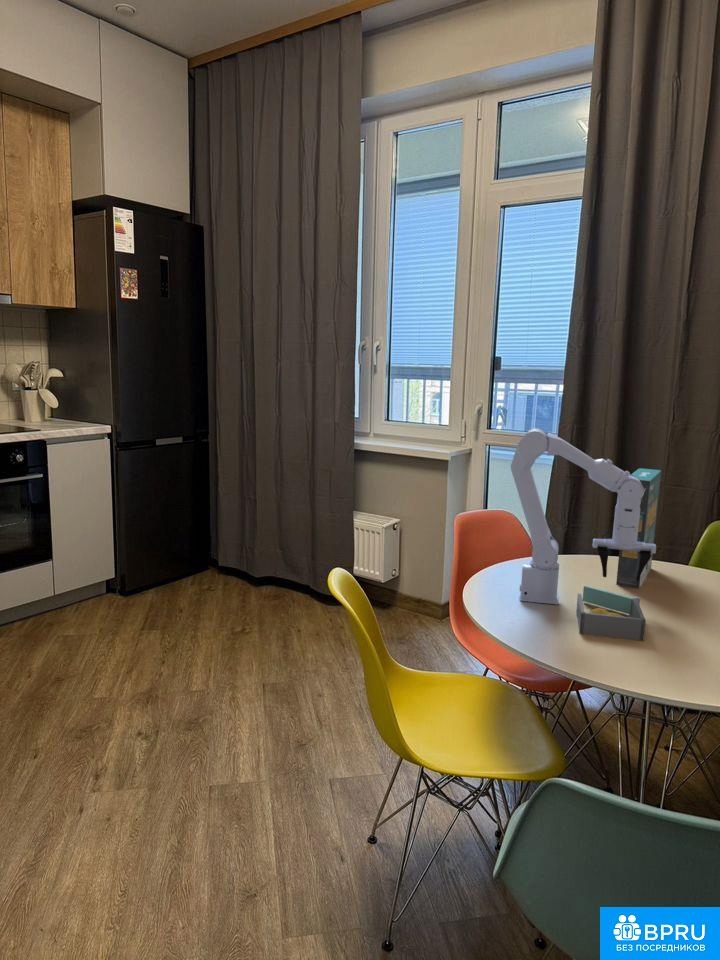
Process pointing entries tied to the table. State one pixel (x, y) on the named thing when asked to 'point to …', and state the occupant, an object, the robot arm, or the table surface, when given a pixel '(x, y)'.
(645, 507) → the cake mix box
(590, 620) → the grey open box
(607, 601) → the teal flat bar
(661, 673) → the table surface
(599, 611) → the bread roll
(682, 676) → the table surface
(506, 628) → the table surface
